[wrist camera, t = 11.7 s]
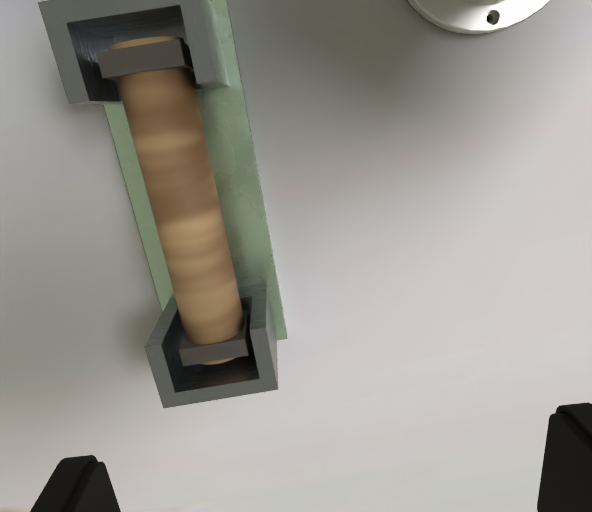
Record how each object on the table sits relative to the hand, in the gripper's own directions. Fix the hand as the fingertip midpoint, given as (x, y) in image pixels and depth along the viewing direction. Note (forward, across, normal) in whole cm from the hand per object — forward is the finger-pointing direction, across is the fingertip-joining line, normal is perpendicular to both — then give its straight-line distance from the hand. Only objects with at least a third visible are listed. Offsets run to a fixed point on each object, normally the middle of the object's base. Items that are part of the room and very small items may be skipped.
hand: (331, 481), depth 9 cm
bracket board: (+24, +7, -1) cm, 25 cm away
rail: (+21, +6, -1) cm, 22 cm away
